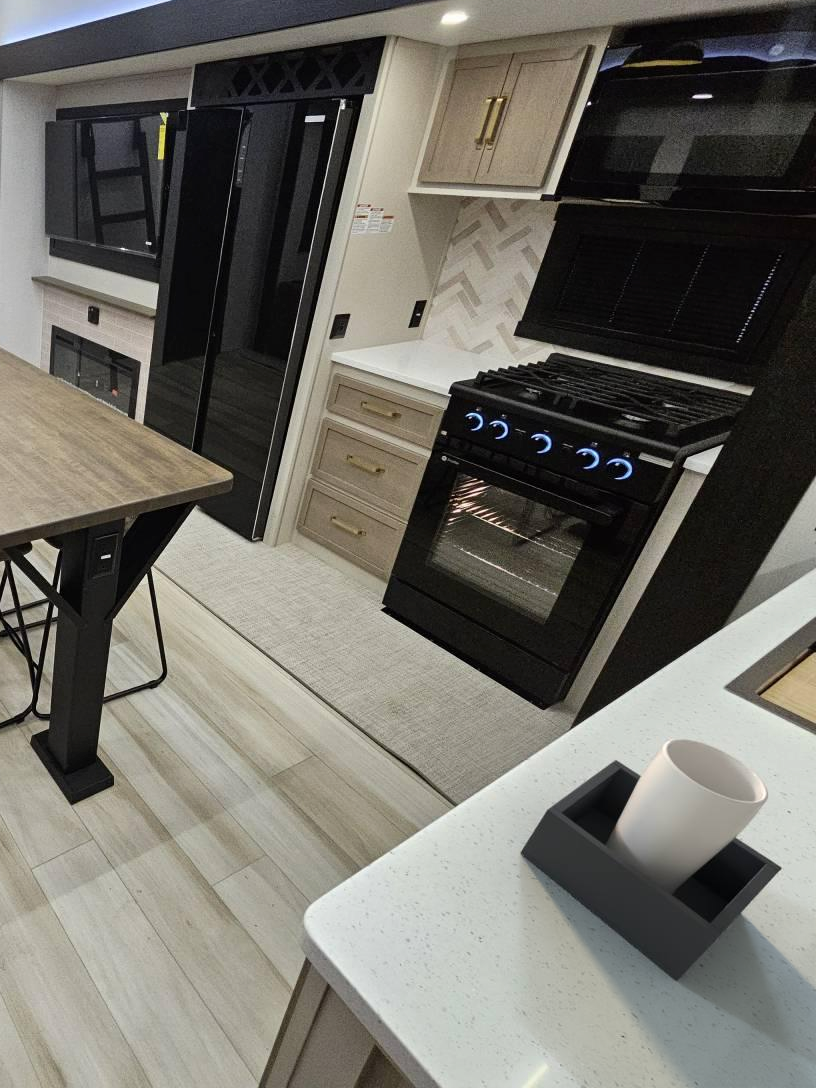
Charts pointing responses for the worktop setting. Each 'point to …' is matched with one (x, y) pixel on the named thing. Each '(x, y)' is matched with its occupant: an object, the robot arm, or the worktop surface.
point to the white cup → (685, 811)
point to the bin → (642, 876)
